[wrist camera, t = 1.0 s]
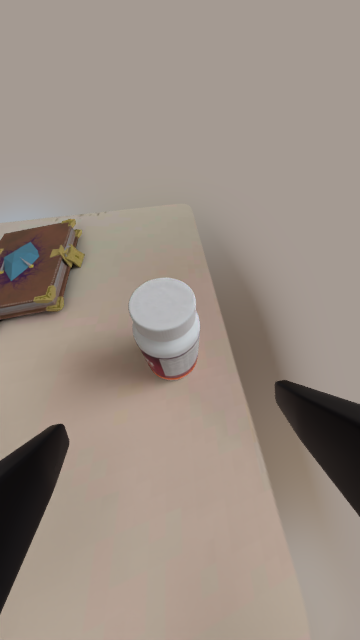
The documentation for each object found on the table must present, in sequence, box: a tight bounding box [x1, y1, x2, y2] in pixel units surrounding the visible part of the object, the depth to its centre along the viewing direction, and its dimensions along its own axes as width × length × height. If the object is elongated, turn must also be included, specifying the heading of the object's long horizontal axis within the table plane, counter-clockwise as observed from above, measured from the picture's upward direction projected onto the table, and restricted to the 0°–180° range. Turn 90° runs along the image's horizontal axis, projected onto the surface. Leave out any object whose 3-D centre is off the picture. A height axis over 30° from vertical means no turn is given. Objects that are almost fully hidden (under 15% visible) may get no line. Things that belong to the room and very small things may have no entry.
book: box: [0, 219, 85, 320], centre depth 30 cm, size 16×25×5 cm, turn 9°
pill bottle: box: [129, 278, 200, 380], centre depth 19 cm, size 6×6×11 cm
